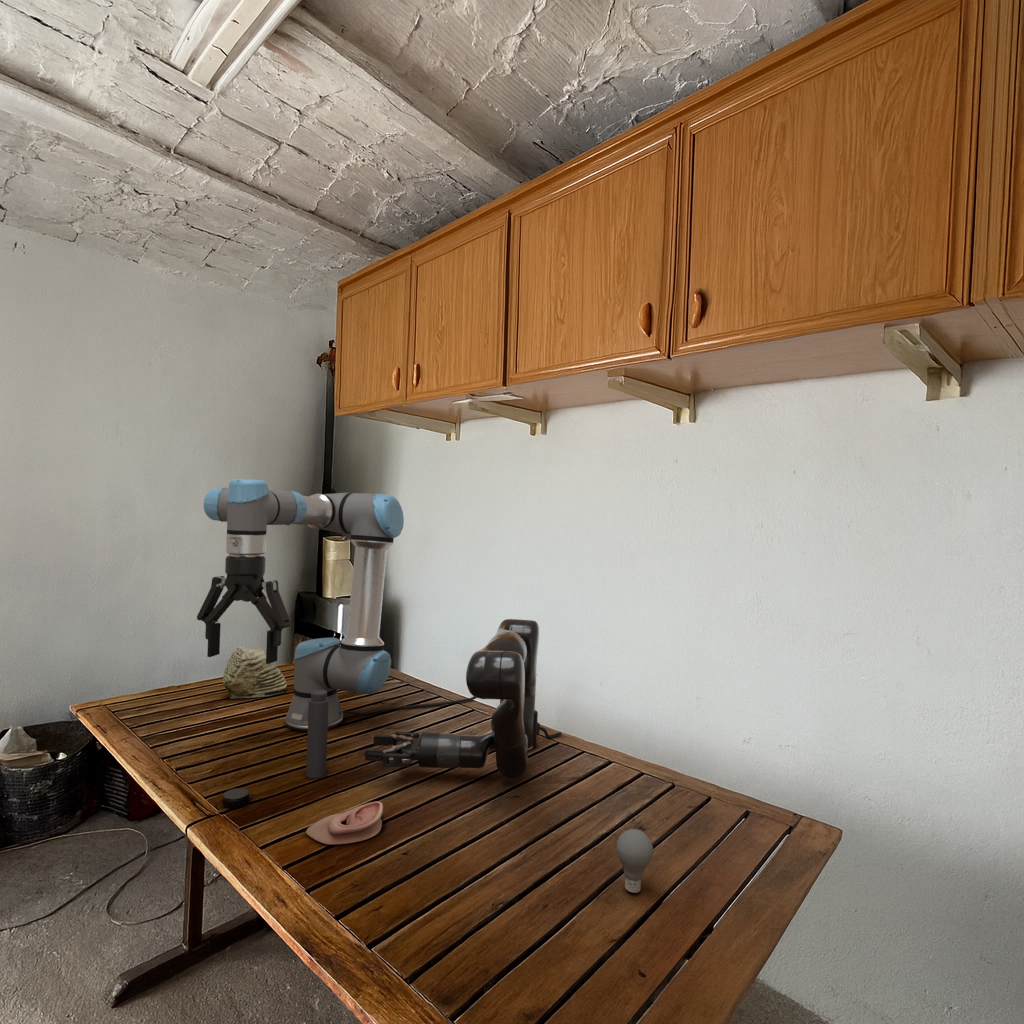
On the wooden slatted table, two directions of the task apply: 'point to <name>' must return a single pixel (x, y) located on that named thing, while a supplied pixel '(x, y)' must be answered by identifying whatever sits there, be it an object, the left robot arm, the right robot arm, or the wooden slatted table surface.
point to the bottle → (317, 734)
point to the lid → (235, 798)
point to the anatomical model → (348, 825)
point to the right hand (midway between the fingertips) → (369, 747)
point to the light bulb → (634, 857)
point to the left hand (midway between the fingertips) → (242, 659)
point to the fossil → (252, 675)
